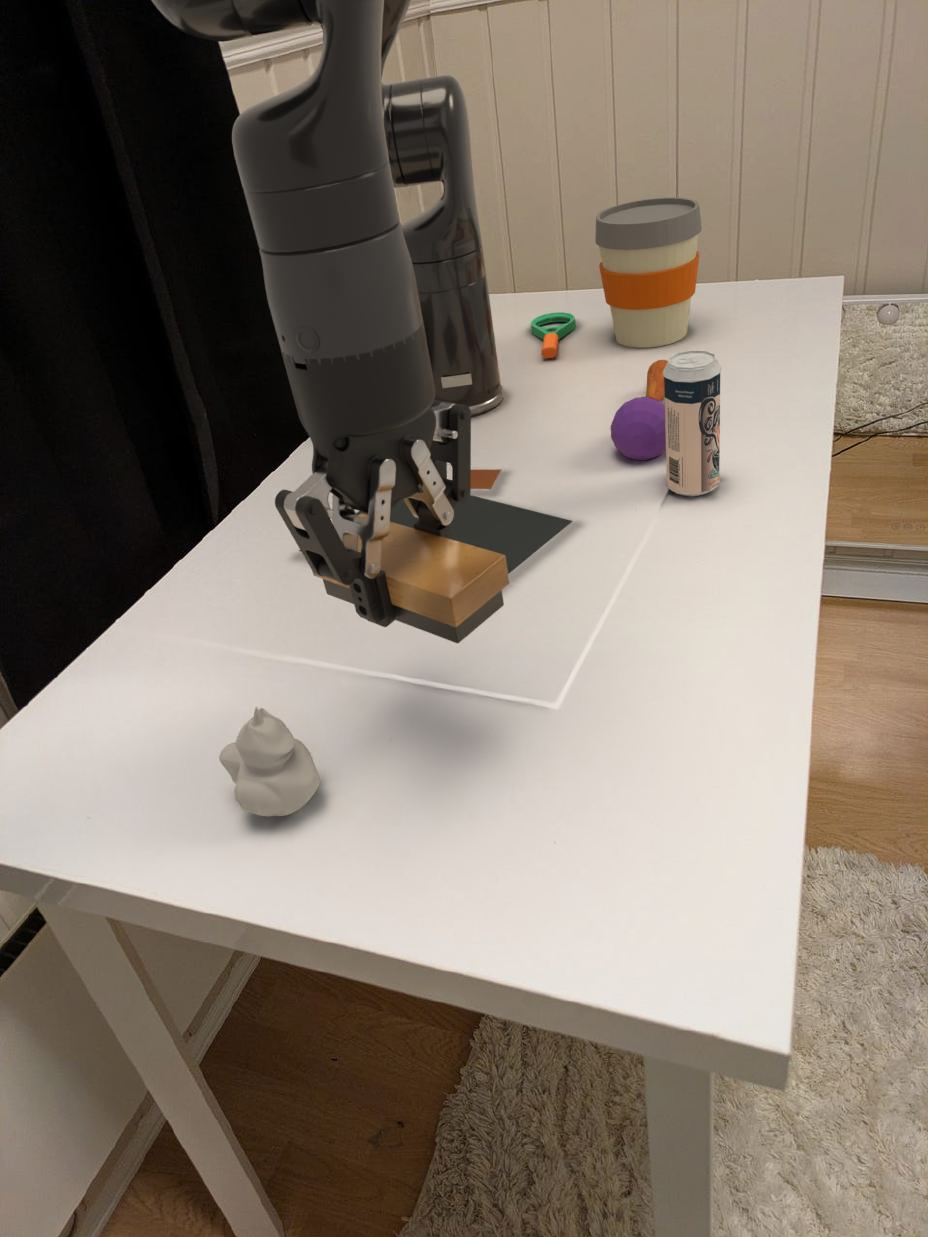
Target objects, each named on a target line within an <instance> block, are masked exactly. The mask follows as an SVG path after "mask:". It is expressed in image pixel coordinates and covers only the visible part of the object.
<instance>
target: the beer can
mask: <svg viewBox="0 0 928 1237" xmlns="http://www.w3.org/2000/svg"><path fill="white" fill-rule="evenodd" d="M667 361H668V363H667V365H666V367H665V369H664V371H663V375H664V393H665V396H664V405H665V431H666V450H665V461H666V462H665V464H666V465H665V466H666V467H665V468H666V487H667V488H668V490H670V491H671V492H673V493H675V494H677V495H680V496H683V497H700V496H704V495H706V494H709V493H710V492H713V491H714V490H715V489H717V488H718V487H719V485H720V483H721V478H720V461H721V460H720V459H721V458H720V450H721V449H720V446H721V445H720V444H721V441H720V440H721V437H720V436H721V372H722V365H721V364H720V362H719V360H718V358H717V357H716V354H715V353H712V352H709V351H707V350H688V351H683V352H682V351H681V352H677V353H675V354H674V355H672V356H670V357H669V358H668V360H667Z"/></svg>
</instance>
